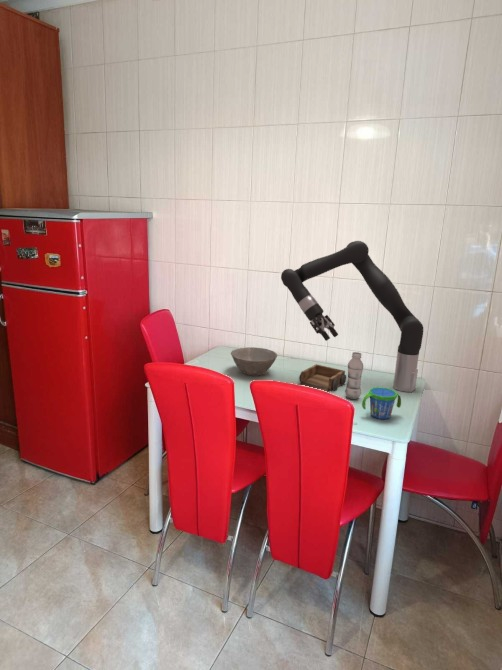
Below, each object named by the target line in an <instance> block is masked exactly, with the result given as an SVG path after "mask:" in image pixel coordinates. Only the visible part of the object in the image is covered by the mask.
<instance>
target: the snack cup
mask: <svg viewBox="0 0 502 670" xmlns="http://www.w3.org/2000/svg"><path fill="white" fill-rule="evenodd" d="M368 399H369V406H370V407H369V409H370V415H371V416H372V417H373V418H376V419H377V418H378V419H377V420H387V419H390V418H391V415H392V412H393V409H394V405H395V402H396V407H397V408H401V407H402V397H401V395H400V393H397V392H396V391H395V390H394V389H391V388H388V387H383V386H382V387H379V386H377V387H371V388H370V389H369V390H368V393H366V394H365V395H364V397H363V398H362V401H361V402H362V403H361V406H362V409H363V410H366V409H367V408H366V401H367V400H368ZM396 399H397V401H396Z"/></svg>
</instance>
